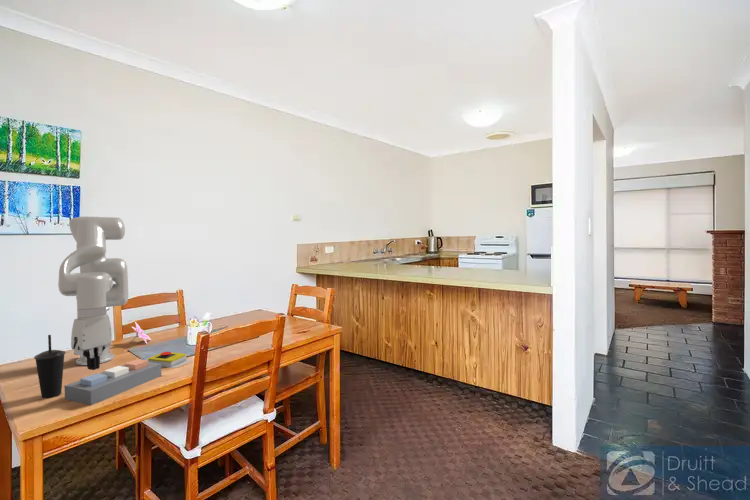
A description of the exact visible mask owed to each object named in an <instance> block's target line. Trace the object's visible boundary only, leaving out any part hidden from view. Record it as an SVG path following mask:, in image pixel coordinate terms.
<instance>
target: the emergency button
mask: <svg viewBox="0 0 750 500" xmlns="http://www.w3.org/2000/svg"><path fill="white" fill-rule="evenodd" d="M147 359H148V362H152V363H158V364H161V368H168V369H169V368H170V369H175V368H178V367H180V366H182V365H185V364H187V363H189V362H191V359H188V358H187V354H186V353H182V352H172V351H162V352H160V353H157V354H155V355H152V356H150V357H148V358H147Z"/></svg>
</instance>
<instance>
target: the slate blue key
mask: <svg viewBox="0 0 750 500" xmlns="http://www.w3.org/2000/svg"><path fill="white" fill-rule="evenodd" d="M105 381H107V375H103V374H99V373H94V374H91V375H88V376H85V377H82V378H80V384H81V385H85V386H90V387H92V386H94V385H97V384H100V383H102V382H105Z"/></svg>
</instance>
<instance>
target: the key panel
mask: <svg viewBox="0 0 750 500" xmlns="http://www.w3.org/2000/svg"><path fill="white" fill-rule="evenodd" d="M121 366H123V367H125V364H122V365H121ZM98 374H103V375H104V371H103V372H99V373H98ZM161 376H162V367H161V364H158V363H152V362H148V366H145V367H142V368H140V369H137V370H131V369H129V373H126V374H124V375H121V376H118V377H116V378H112V377H107V381H105V382H102V383H100V384H97V385H94V386H92V387H90V386H85V385H81V384H80V380H77V381H74V382H71V383H69V384H65V385H64V387H63V388H64V400H67V401H70V402H75V403H79V404H85V405H88V404H89V406H93V405H94V404H95V405H96V404H97V403H100V402H102V401H105V400H107V399H109V398H112V397H114V396H117V395H119V394H121V393H124V392H126V391H128V390H131V389H134V388H135V387H138V386H141V385H143V384H145V383H147V382H150V381H152V380H155V379H157V378H159V377H161Z"/></svg>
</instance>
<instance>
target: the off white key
mask: <svg viewBox="0 0 750 500" xmlns="http://www.w3.org/2000/svg"><path fill="white" fill-rule="evenodd" d="M103 372H104V375H107V377H112V378H116V377H118V376H121V375H124V374H126V373H129V367H123V366H122V365H117V366H114V367H111V368H108V369H105V370H103Z"/></svg>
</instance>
